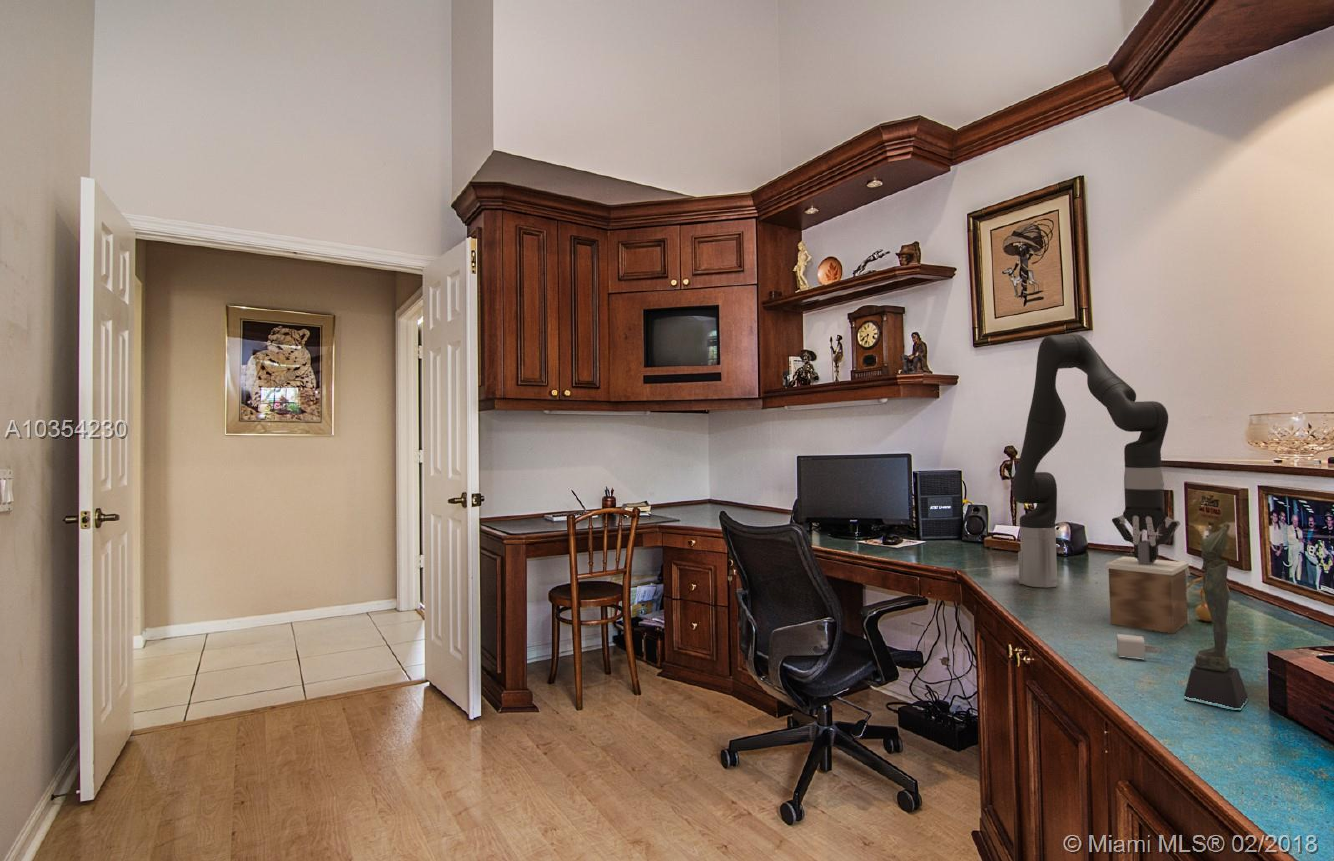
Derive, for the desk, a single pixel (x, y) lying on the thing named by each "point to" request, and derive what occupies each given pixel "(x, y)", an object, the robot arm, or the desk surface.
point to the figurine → (1202, 604)
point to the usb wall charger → (1133, 646)
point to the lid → (1146, 563)
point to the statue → (1216, 633)
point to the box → (1148, 600)
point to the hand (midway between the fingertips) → (1146, 560)
